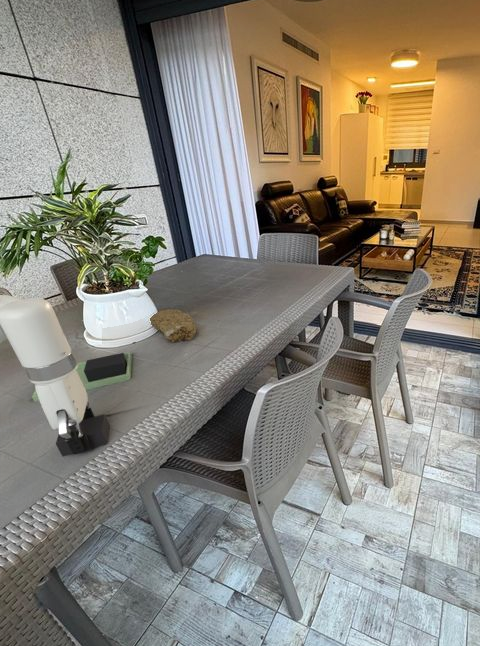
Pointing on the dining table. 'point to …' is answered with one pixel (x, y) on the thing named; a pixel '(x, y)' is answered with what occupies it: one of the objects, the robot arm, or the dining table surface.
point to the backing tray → (102, 381)
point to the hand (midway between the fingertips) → (85, 437)
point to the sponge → (174, 324)
